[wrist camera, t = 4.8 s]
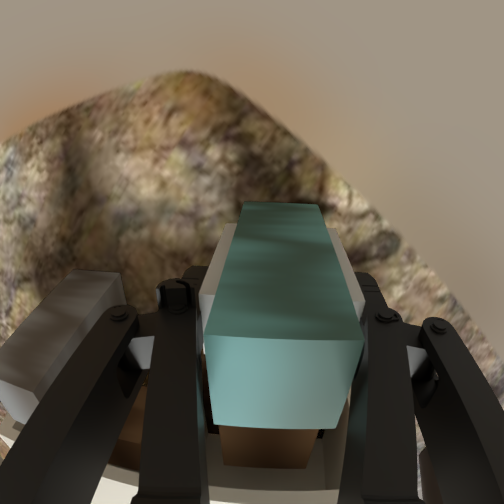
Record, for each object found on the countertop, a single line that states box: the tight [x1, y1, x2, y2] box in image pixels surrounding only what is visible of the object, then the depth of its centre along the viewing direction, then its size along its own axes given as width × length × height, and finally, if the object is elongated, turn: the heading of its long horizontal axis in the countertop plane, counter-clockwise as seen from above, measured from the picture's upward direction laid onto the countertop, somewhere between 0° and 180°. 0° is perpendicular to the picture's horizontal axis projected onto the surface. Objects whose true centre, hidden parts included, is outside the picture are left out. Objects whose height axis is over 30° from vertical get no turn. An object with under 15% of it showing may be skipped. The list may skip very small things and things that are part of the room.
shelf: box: [0, 387, 351, 504], centre depth 21 cm, size 26×11×11 cm, turn 89°
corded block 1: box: [0, 269, 147, 471], centre depth 20 cm, size 6×18×11 cm, turn 179°
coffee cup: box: [419, 448, 444, 504], centre depth 25 cm, size 8×8×10 cm
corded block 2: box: [203, 201, 365, 469], centre depth 16 cm, size 6×18×11 cm, turn 179°
